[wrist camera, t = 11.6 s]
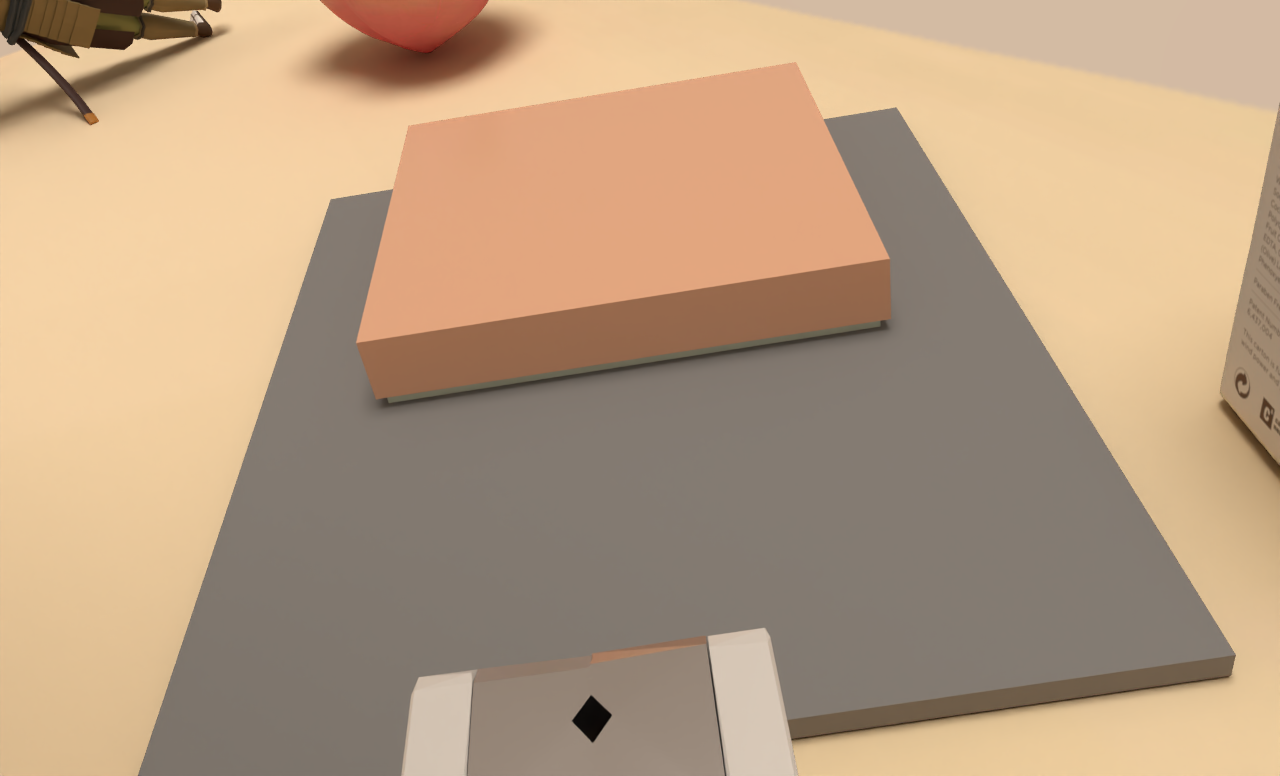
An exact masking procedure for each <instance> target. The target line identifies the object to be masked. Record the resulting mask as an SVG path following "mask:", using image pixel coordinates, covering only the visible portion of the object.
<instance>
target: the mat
mask: <svg viewBox="0 0 1280 776" xmlns="http://www.w3.org/2000/svg"><path fill="white" fill-rule="evenodd" d="M823 120H824V122H825V124H826V126H827V128H828V130H829V132H830V135H831V137H832V139H833V141H834V143H835V145H836V147H837V149H838V151H839V153H840V155H841V157H842V160H843V162H844V164H845V166H846V168H847V170H848V172H849V174H850V176H851V178H852V180H853V183H854V185H855V187H856V189H857V191H858V193H859V195H860V197H861V199H862V201H863V203H864V206H865V208H866V210H867V212H868V214H869V216H870V218H871V220H872V222H873V224H874V226H875V228H876V231H877V233H878V235H879V237H880V239H881V241H882V243H883V245H884V247H885V249H886V251H887V254H888V256H889V258H890V288H891V319H888V320H881V321H880V323H881V326H880V327H874V328H867V329H861V330H854V331H848V332H842V333H835V334H829V335H822V336H816V337H810V338H803V339H797V340H790V341H784V342H777V343H771V344H765V345H758V346H752V347H745V348H739V349H733V350H726V351H720V352H713V353H707V354H701V355H694V356H688V357H681V358H675V359H668V360H662V361H656V362H649V363H643V364H636V365H630V366H624V367H617V368H611V369H604V370H598V371H592V372H585V373H579V374H572V375H566V376H559V377H553V378H547V379H540V380H534V381H527V382H521V383H515V384H508V385H502V386H495V387H489V388H483V389H476V390H470V391H463V392H457V393H451V394H444V395H438V396H431V397H425V398H418V399H412V400H406V401H399V402H393V403H389V402H388V399H387V398H382V399H376V398H375V395H374V393H373V390H372V387H371V384H370V381H369V378H368V376H367V373H366V370H365V367H364V364H363V361H362V359H361V356H360V353H359V350H358V347H357V344H356V341H357V337H358V333H359V329H360V324H361V320H362V316H363V312H364V308H365V304H366V300H367V296H368V291H369V287H370V283H371V279H372V275H373V271H374V267H375V263H376V258H377V254H378V250H379V246H380V242H381V238H382V234H383V230H384V225H385V221H386V217H387V213H388V209H389V205H390V201H391V197H392V193H393V189H392V190H386V191H380V192H374V193H368V194H361V195H355V196H349V197H343V198H337V199H331V200H330V203H329V206H328V209H327V212H326V215H325V218H324V221H323V224H322V227H321V230H320V233H319V236H318V239H317V242H316V245H315V248H314V251H313V254H312V257H311V260H310V263H309V266H308V269H307V272H306V275H305V278H304V281H303V284H302V287H301V290H300V293H299V296H298V299H297V302H296V305H295V308H294V311H293V314H292V317H291V320H290V323H289V326H288V329H287V332H286V335H285V338H284V341H283V344H282V347H281V350H280V353H279V356H278V359H277V362H276V365H275V368H274V371H273V374H272V377H271V380H270V383H269V386H268V389H267V392H266V395H265V398H264V401H263V404H262V407H261V410H260V413H259V416H258V419H257V422H256V425H255V428H254V431H253V434H252V437H251V440H250V443H249V446H248V449H247V452H246V454H245V457H244V460H243V463H242V466H241V469H240V472H239V475H238V478H237V481H236V484H235V487H234V490H233V493H232V496H231V499H230V502H229V505H228V508H227V511H226V514H225V517H224V520H223V523H222V526H221V529H220V532H219V535H218V538H217V541H216V544H215V547H214V550H213V553H212V556H211V559H210V562H209V565H208V568H207V571H206V574H205V577H204V580H203V583H202V586H201V589H200V592H199V595H198V598H197V601H196V604H195V607H194V610H193V613H192V616H191V619H190V622H189V625H188V628H187V631H186V634H185V637H184V640H183V643H182V646H181V649H180V652H179V655H178V658H177V661H176V664H175V667H174V670H173V673H172V676H171V679H170V682H169V685H168V688H167V691H166V694H165V697H164V700H163V703H162V706H161V709H160V712H159V715H158V717H157V720H156V723H155V726H154V729H153V732H152V735H151V738H150V741H149V744H148V747H147V750H146V753H145V756H144V759H143V762H142V765H141V768H140V771H139V774H138V776H401V774H402V766H403V758H404V749H405V741H406V733H407V725H408V717H409V709H410V700H411V694H412V692H413V690H414V687H415V685H416V683H417V680H418V678H419V677H424V676H432V675H440V674H447V673H455V672H463V671H470V670H477V669H483V668H491V667H499V666H508V665H516V664H524V663H533V662H541V661H550V660H558V659H566V658H575V657H583V656H591V655H592V653H598V652H604V651H611V650H617V649H623V648H630V647H636V646H642V645H649V644H655V643H661V642H668V641H674V640H680V639H687V638H693V637H699V636H705V635H706V641H707V646H708V636H712V635H719V634H725V633H732V632H739V631H746V630H753V629H759V628H766V630H767V632H768V634H769V636H770V638H771V643H772V648H773V653H774V658H775V663H776V668H777V673H778V678H779V682H780V687H781V692H782V697H783V702H784V707H785V712H786V717H787V722H788V727H789V732H790V737H791V739H794V738H801V737H808V736H815V735H822V734H829V733H836V732H843V731H850V730H857V729H864V728H871V727H878V726H885V725H891V724H898V723H905V722H912V721H919V720H926V719H933V718H940V717H947V716H954V715H961V714H968V713H975V712H982V711H989V710H996V709H1002V708H1009V707H1016V706H1023V705H1030V704H1037V703H1044V702H1051V701H1058V700H1065V699H1072V698H1079V697H1086V696H1093V695H1100V694H1107V693H1113V692H1120V691H1127V690H1134V689H1141V688H1148V687H1155V686H1162V685H1169V684H1176V683H1183V682H1190V681H1197V680H1204V679H1211V678H1218V677H1224V676H1231V673H1232V669H1233V665H1234V661H1235V656H1236V654H1235V653H1234V651H1233V650H1232V648H1231V646H1230V645H1229V643H1228V642H1227V640H1226V638H1225V637H1224V635H1223V634H1222V632H1221V630H1220V629H1219V627H1218V625H1217V624H1216V622H1215V621H1214V619H1213V617H1212V616H1211V614H1210V613H1209V611H1208V609H1207V608H1206V606H1205V604H1204V603H1203V601H1202V600H1201V598H1200V596H1199V595H1198V593H1197V592H1196V590H1195V588H1194V587H1193V585H1192V583H1191V582H1190V580H1189V579H1188V577H1187V575H1186V574H1185V572H1184V571H1183V569H1182V567H1181V566H1180V564H1179V563H1178V561H1177V559H1176V558H1175V556H1174V554H1173V553H1172V551H1171V550H1170V548H1169V546H1168V545H1167V543H1166V542H1165V540H1164V538H1163V537H1162V535H1161V533H1160V532H1159V530H1158V529H1157V527H1156V525H1155V524H1154V522H1153V521H1152V519H1151V517H1150V516H1149V514H1148V513H1147V511H1146V509H1145V508H1144V506H1143V504H1142V503H1141V501H1140V500H1139V498H1138V496H1137V495H1136V493H1135V492H1134V490H1133V488H1132V487H1131V485H1130V483H1129V482H1128V480H1127V479H1126V477H1125V475H1124V474H1123V472H1122V471H1121V469H1120V467H1119V466H1118V464H1117V462H1116V461H1115V459H1114V458H1113V456H1112V454H1111V453H1110V451H1109V450H1108V448H1107V446H1106V445H1105V443H1104V442H1103V440H1102V438H1101V437H1100V435H1099V433H1098V432H1097V430H1096V429H1095V427H1094V425H1093V424H1092V422H1091V421H1090V419H1089V417H1088V416H1087V414H1086V412H1085V411H1084V409H1083V408H1082V406H1081V404H1080V403H1079V401H1078V400H1077V398H1076V396H1075V395H1074V393H1073V392H1072V390H1071V388H1070V387H1069V385H1068V383H1067V382H1066V380H1065V379H1064V377H1063V375H1062V374H1061V372H1060V371H1059V369H1058V367H1057V366H1056V364H1055V362H1054V361H1053V359H1052V358H1051V356H1050V354H1049V353H1048V351H1047V350H1046V348H1045V346H1044V345H1043V343H1042V341H1041V340H1040V338H1039V337H1038V335H1037V333H1036V332H1035V330H1034V329H1033V327H1032V325H1031V324H1030V322H1029V321H1028V319H1027V317H1026V316H1025V314H1024V312H1023V311H1022V309H1021V308H1020V306H1019V304H1018V303H1017V301H1016V300H1015V298H1014V296H1013V295H1012V293H1011V291H1010V290H1009V288H1008V287H1007V285H1006V283H1005V282H1004V280H1003V279H1002V277H1001V275H1000V274H999V272H998V271H997V269H996V267H995V266H994V264H993V262H992V261H991V259H990V258H989V256H988V254H987V253H986V251H985V250H984V248H983V246H982V245H981V243H980V241H979V240H978V238H977V237H976V235H975V233H974V232H973V230H972V229H971V227H970V225H969V224H968V222H967V220H966V219H965V217H964V216H963V214H962V212H961V211H960V209H959V208H958V206H957V204H956V203H955V201H954V200H953V198H952V196H951V195H950V193H949V191H948V190H947V188H946V187H945V185H944V183H943V182H942V180H941V179H940V177H939V175H938V174H937V172H936V170H935V169H934V167H933V166H932V164H931V162H930V161H929V159H928V158H927V156H926V154H925V153H924V151H923V150H922V148H921V146H920V145H919V143H918V141H917V140H916V138H915V137H914V135H913V133H912V132H911V130H910V129H909V127H908V125H907V124H906V122H905V120H904V119H903V117H902V116H901V114H900V112H899V111H898V109H897V108H891V109H885V110H879V111H873V112H866V113H860V114H854V115H848V116H842V117H836V118H829V119H823ZM708 652H709V649H708ZM709 658H710V656H709ZM710 664H711V662H710ZM711 670H712V669H711Z"/></svg>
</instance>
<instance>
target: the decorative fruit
mask: <svg viewBox="0 0 1280 776" xmlns="http://www.w3.org/2000/svg"><path fill="white" fill-rule="evenodd" d="M320 1H321V2H322V3H323V4H324V5H325V6H326V7H327V8H329V9H330V10H331V11H332V12H333V13H334V14H335V15H337V16H338V17H339V18H341V19H342V20H343V21H345V22H346V23H348V24H349V25H350V26H352V27H354V28H356V29H357V30H359V31H361V32H362V33H364V34H367V35H369V36H371V37H373V38H376V39H379V40H382V41H385V42H388V43H391V44H394V45H397V46H400V47H402V48H405V49H409V50H414V51H417V52H423V53H430V52H432V51H433V50H435V49H436V48H437V47H439V46H440V45H441V44H443V43H444V42H446V41H447V40H449V39H450V38H451V37H452V36H454V35H455V34H456V33H457V32H459V31H460V30H461V29H462V28H464V27H465V26H466V25H467V24H469V23H470V22H471V21H472V20H473V19H474V18H475V17H476V16H477V15H478V14H479V13H480V12H481V10H482V9H483V8H484V6H485V5H486V4H487V2H488V0H320Z"/></svg>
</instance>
